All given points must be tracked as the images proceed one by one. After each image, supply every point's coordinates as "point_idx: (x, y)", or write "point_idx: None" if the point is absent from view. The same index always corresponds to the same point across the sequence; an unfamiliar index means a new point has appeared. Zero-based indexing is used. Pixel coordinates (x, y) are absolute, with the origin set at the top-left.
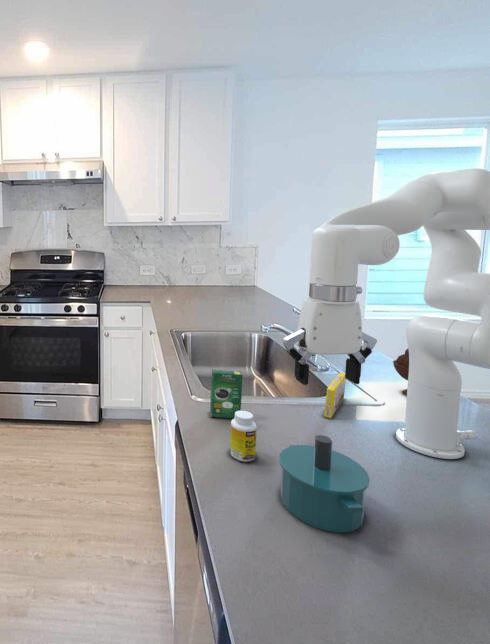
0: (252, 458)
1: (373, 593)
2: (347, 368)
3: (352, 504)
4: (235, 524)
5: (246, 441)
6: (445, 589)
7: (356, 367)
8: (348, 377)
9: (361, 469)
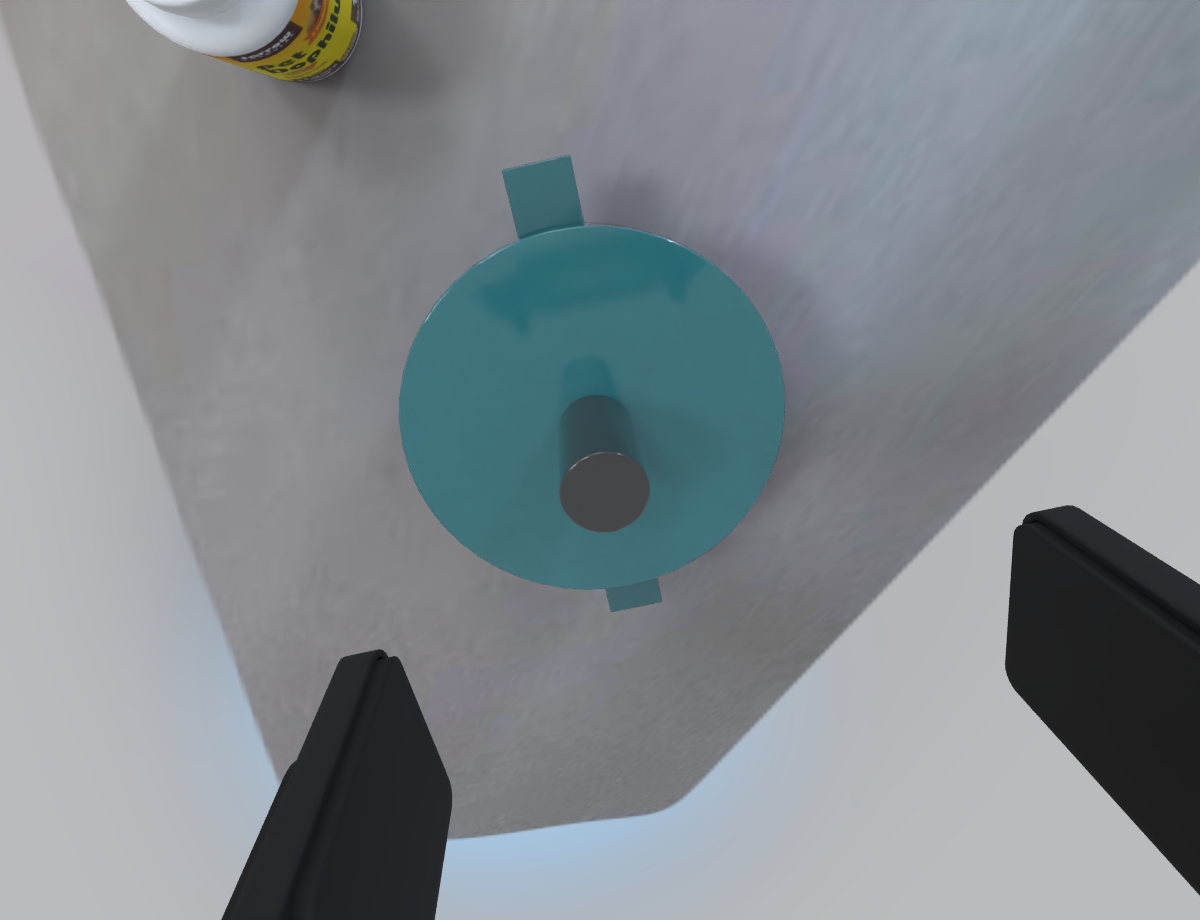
0: (341, 65)
1: (599, 666)
2: (1130, 646)
3: (631, 593)
4: (268, 513)
5: (260, 66)
6: (776, 627)
7: (1183, 872)
8: (1032, 598)
9: (768, 426)
